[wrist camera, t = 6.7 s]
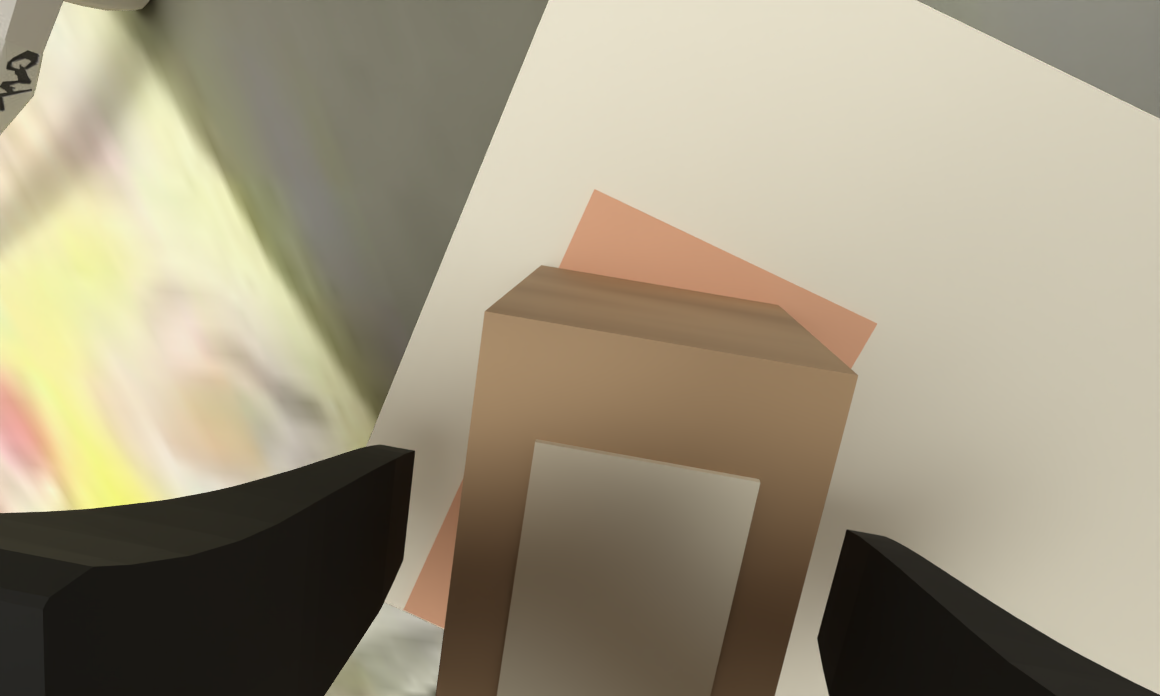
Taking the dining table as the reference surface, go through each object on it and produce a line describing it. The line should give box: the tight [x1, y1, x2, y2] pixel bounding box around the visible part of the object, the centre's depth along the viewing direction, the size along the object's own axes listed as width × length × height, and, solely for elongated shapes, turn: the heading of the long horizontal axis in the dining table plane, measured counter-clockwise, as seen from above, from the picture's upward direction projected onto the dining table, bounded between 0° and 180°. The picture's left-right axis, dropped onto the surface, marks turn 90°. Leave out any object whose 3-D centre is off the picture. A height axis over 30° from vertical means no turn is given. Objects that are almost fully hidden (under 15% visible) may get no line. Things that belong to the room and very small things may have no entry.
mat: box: [366, 0, 1160, 696], centre depth 14 cm, size 17×15×1 cm
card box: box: [436, 265, 858, 696], centre depth 12 cm, size 8×4×5 cm, turn 171°
